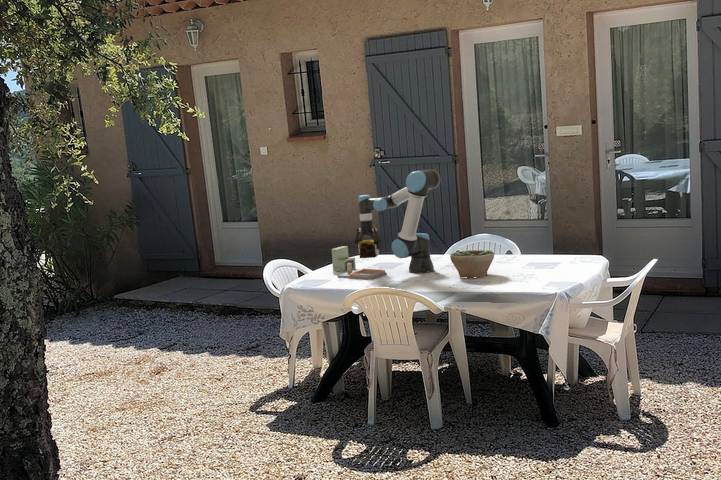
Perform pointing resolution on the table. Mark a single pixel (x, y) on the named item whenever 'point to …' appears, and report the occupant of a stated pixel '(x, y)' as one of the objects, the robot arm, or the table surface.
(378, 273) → the pin board
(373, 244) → the candle
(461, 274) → the planter
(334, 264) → the feeder
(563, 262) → the table surface
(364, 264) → the table surface
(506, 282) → the table surface
